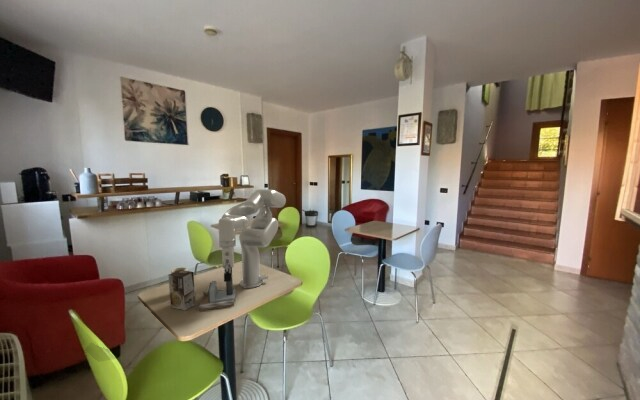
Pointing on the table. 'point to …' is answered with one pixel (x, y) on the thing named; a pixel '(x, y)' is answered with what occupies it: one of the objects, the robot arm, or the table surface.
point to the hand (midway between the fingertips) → (228, 277)
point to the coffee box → (182, 289)
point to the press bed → (208, 305)
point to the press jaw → (221, 292)
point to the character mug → (179, 269)
